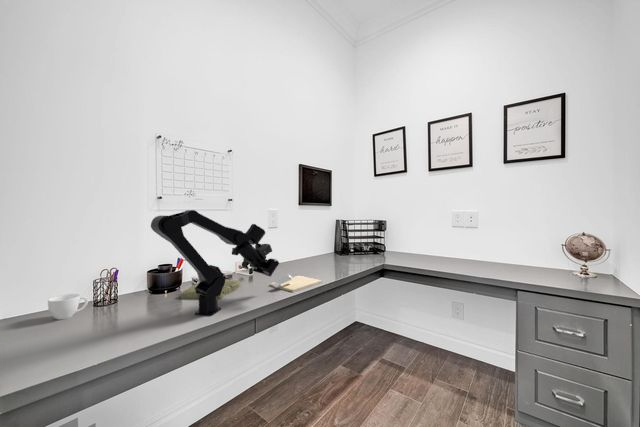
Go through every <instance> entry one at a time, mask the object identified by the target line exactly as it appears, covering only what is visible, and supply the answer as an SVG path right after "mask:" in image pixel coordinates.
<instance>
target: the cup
mask: <svg viewBox="0 0 640 427" xmlns="http://www.w3.org/2000/svg"><path fill="white" fill-rule="evenodd" d="M83 299H84V304H82V306H81V307H80V308H79V305H80V302H81V300H83ZM88 304H89V299H88V297H87V296H80V294H79V293H70V294H69V293H68V294H67V293H66V294H63V295H62V294H61V295H56V296H54V297H51V298H49V299H47V307H48V311H49V314H50V315H51V317H53V318H54V319H55V320H59V321H60V320H67V319H70V318H72V317H73V316H74V315H75V313H79V312H81V311H83V310H84V309H85V308H86V307H87V305H88Z"/></svg>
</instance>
